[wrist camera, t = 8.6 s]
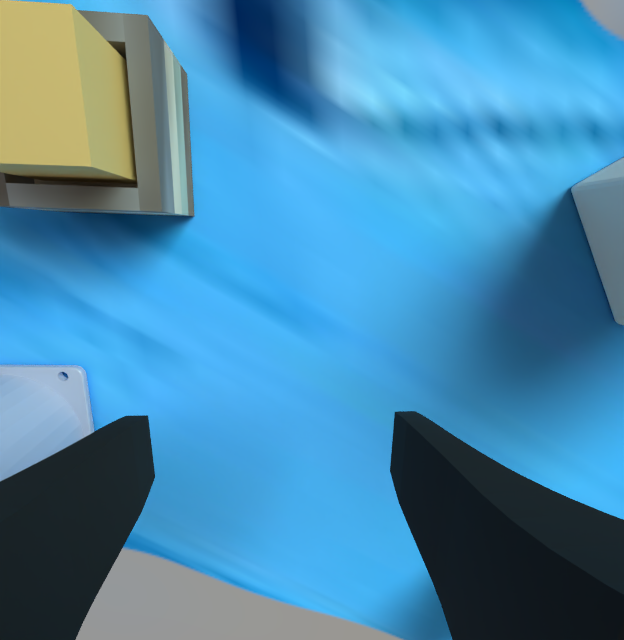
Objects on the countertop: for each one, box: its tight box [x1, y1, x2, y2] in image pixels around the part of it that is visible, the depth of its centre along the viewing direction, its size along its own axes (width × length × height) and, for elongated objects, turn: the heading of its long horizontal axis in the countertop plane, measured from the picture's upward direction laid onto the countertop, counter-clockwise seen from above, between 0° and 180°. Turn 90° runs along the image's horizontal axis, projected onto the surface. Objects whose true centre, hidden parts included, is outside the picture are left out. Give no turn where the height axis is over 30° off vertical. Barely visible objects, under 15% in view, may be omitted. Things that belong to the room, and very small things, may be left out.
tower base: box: [0, 10, 194, 216], centre depth 14 cm, size 6×6×4 cm
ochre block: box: [0, 0, 137, 184], centre depth 12 cm, size 4×4×4 cm
